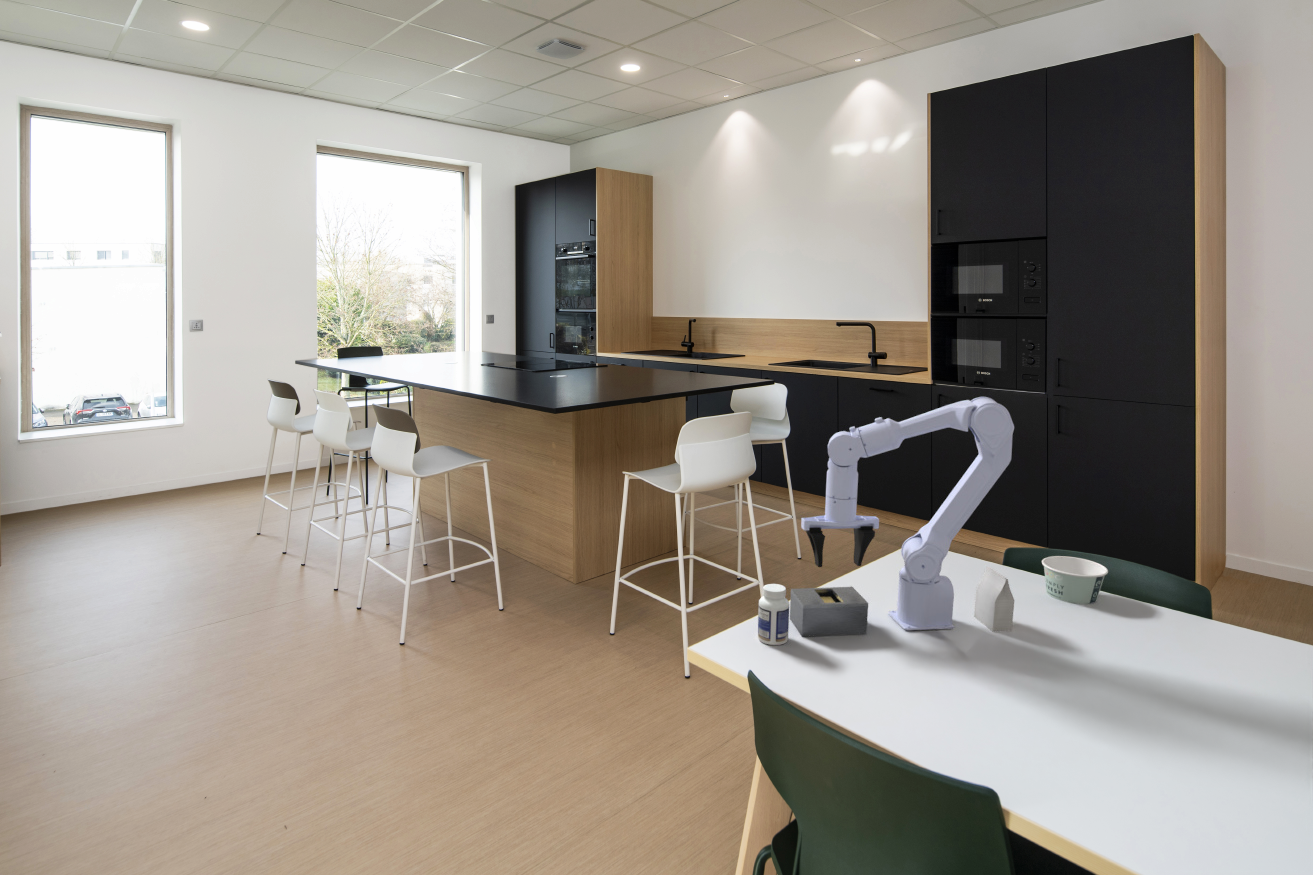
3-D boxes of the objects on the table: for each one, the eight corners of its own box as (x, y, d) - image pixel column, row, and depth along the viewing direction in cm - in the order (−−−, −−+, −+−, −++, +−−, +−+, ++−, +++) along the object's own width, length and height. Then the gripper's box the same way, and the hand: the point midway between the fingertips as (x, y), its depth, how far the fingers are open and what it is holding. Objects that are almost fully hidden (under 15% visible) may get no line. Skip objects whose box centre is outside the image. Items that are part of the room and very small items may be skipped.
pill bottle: (787, 633, 138) (788, 582, 136) (789, 646, 132) (791, 593, 131) (757, 632, 138) (758, 581, 137) (757, 645, 133) (759, 592, 131)
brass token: (829, 621, 143) (830, 596, 142) (836, 631, 139) (838, 605, 138) (818, 621, 143) (820, 596, 142) (826, 631, 139) (827, 606, 138)
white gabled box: (992, 631, 139) (997, 579, 137) (974, 616, 146) (978, 567, 144) (1011, 630, 140) (1016, 579, 138) (992, 616, 146) (996, 566, 144)
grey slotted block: (850, 616, 145) (852, 586, 144) (866, 634, 138) (868, 602, 137) (789, 618, 144) (790, 588, 143) (802, 636, 136) (803, 605, 135)
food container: (1026, 590, 160) (1028, 560, 159) (1065, 581, 165) (1068, 552, 164) (1078, 610, 149) (1081, 579, 148) (1118, 601, 154) (1121, 570, 153)
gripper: (870, 489, 147) (866, 556, 150) (797, 491, 146) (795, 558, 148) (885, 499, 140) (880, 569, 143) (808, 500, 139) (805, 571, 141)
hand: (838, 564), depth 145 cm, fingers open, 7 cm apart
